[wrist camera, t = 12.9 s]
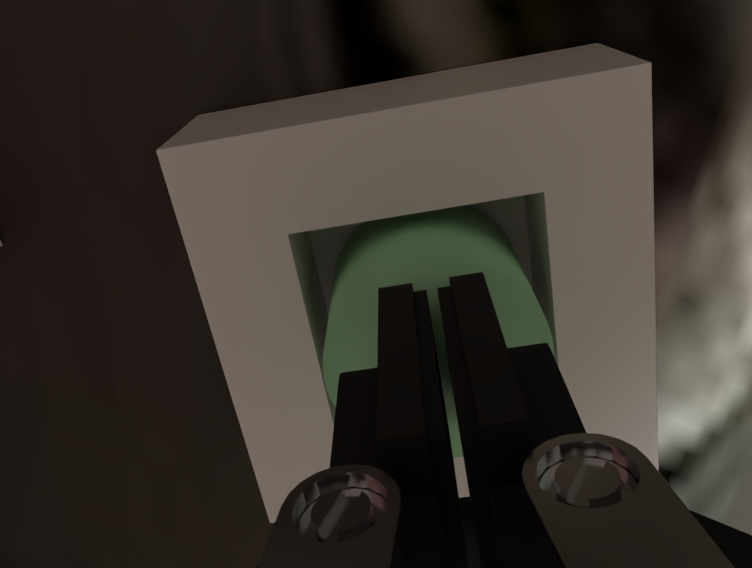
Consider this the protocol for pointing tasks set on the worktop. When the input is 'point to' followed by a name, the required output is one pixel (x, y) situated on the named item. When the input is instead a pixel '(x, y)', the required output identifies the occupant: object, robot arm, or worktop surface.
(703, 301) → the worktop surface
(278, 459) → the button housing
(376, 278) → the button
